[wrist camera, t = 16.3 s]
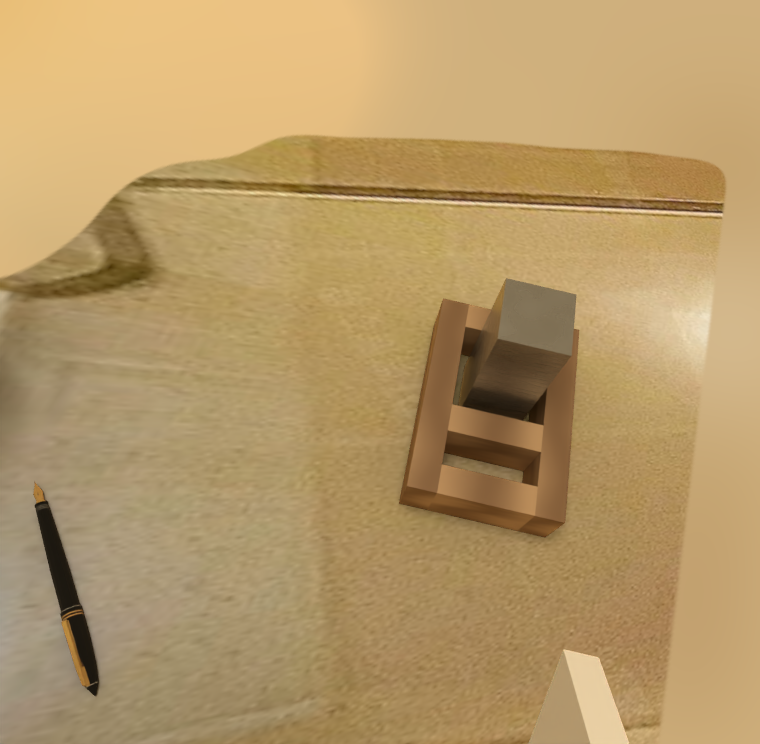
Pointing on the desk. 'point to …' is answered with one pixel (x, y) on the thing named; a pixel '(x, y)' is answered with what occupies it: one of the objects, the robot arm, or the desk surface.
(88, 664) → the fountain pen
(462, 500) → the wooden slotted frame
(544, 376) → the grey tall rectangular block
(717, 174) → the desk surface
